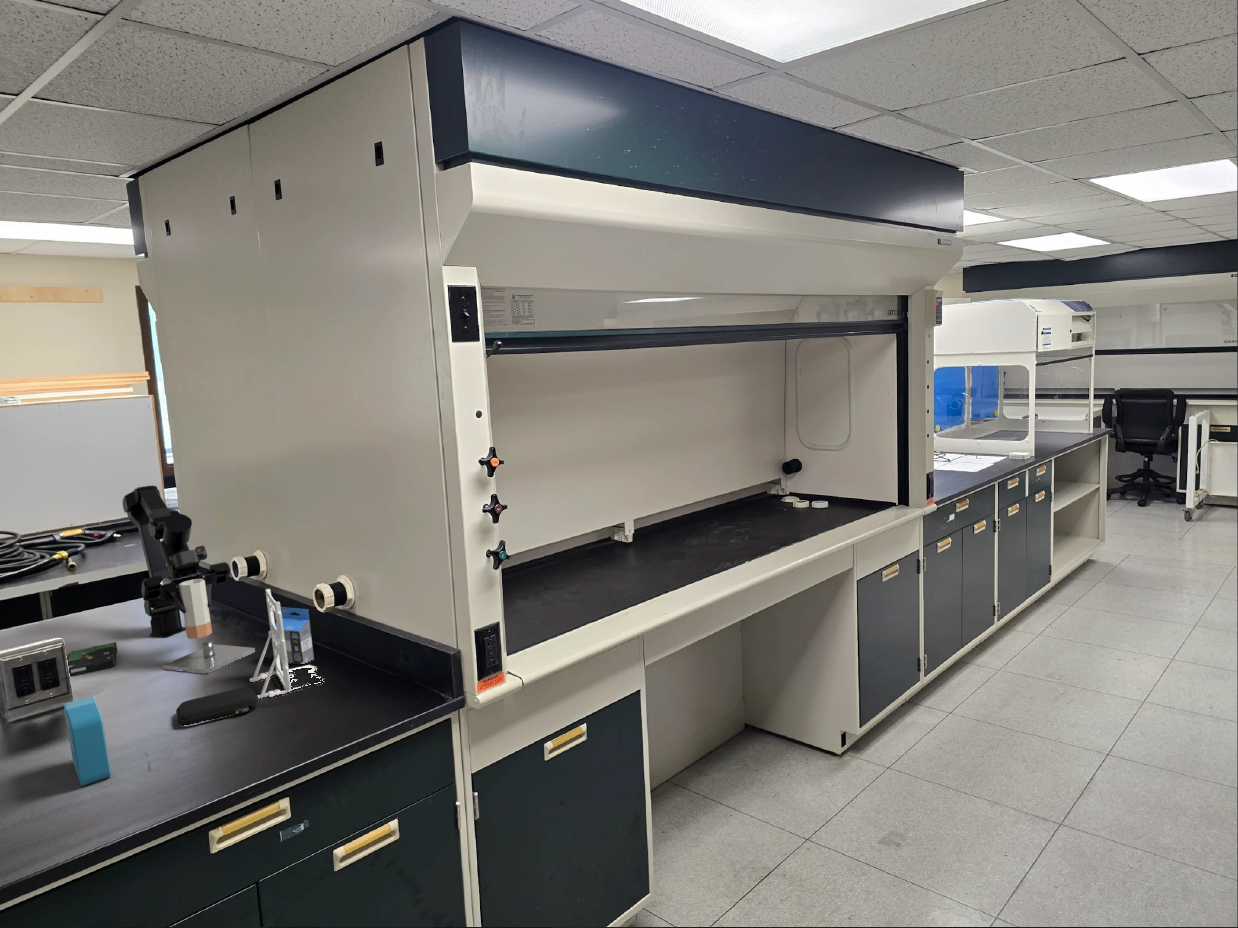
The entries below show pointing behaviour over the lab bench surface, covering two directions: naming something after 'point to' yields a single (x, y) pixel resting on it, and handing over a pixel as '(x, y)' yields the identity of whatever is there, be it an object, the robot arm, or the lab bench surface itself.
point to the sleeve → (195, 608)
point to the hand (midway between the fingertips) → (197, 609)
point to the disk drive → (92, 659)
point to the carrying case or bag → (216, 706)
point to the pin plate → (209, 658)
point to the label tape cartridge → (297, 635)
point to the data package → (87, 740)
